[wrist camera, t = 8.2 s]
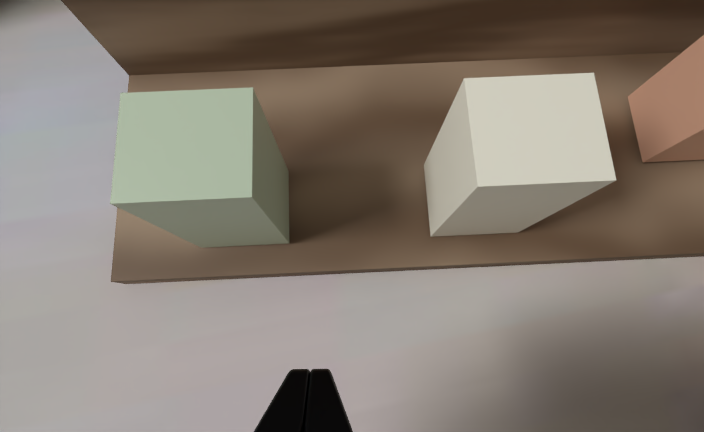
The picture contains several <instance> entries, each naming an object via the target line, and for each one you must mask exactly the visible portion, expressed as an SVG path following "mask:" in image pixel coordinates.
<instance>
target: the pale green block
mask: <svg viewBox="0 0 704 432" xmlns="http://www.w3.org/2000/svg"><path fill="white" fill-rule="evenodd" d="M110 204H112V205H114V206H116V207H118V208H120V209H122V210H124V211H126V212H128V213H130V214H133V215H135V216H137V217H139V218H141V219H143V220H145V221H147V222H149V223H151V224H153V225H155V226H157V227H159V228H162V229H164V230H166V231H168V232H170V233H172V234H174V235H176V236H178V237H180V238H182V239H184V240H186V241H188V242H190V243H193V244H195V245H197V246H199V247H201V248H204V247H225V246H246V245H267V244H288V243H289V171H288V169H287V166H286V164H285V162H284V159H283V157H282V155H281V152H280V150H279V147H278V145H277V143H276V140H275V138H274V136H273V133H272V131H271V129H270V126H269V124H268V121H267V119H266V117H265V114H264V112H263V110H262V107H261V105H260V103H259V100H258V98H257V95H256V93H255V91H254V88H253V87H250V88H227V89H203V90H179V91H156V92H132V93H121V94H120V105H119V115H118V126H117V137H116V147H115V158H114V169H113V179H112V190H111V201H110Z"/></svg>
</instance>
